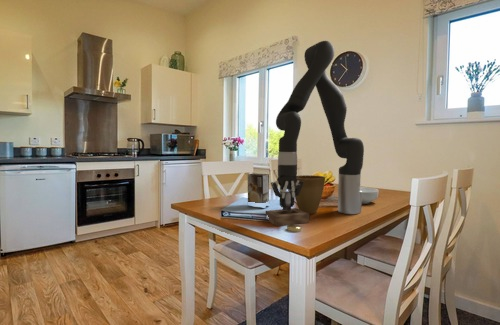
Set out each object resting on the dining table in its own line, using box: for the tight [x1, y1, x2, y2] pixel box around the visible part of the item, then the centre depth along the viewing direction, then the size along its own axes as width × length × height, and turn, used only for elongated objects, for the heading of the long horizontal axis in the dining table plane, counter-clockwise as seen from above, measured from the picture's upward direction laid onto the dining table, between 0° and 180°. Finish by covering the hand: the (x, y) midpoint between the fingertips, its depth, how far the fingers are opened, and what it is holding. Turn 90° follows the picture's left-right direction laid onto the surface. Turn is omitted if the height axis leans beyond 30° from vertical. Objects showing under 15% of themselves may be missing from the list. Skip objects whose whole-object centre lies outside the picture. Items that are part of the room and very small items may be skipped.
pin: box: [282, 190, 292, 211], centre depth 108 cm, size 3×3×7 cm
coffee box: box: [247, 172, 270, 203], centre depth 133 cm, size 9×6×16 cm
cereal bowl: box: [360, 186, 379, 205], centre depth 145 cm, size 17×17×7 cm
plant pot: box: [294, 174, 326, 215], centre depth 123 cm, size 15×15×16 cm
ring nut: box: [286, 224, 303, 233], centre depth 98 cm, size 5×5×2 cm
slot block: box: [265, 207, 310, 227], centre depth 109 cm, size 14×10×4 cm
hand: (286, 206), depth 109 cm, fingers closed on pin, 3 cm apart
